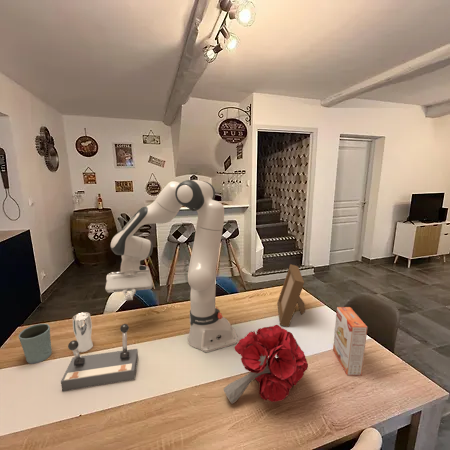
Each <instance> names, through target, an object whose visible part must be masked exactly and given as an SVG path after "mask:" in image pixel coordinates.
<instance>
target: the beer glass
mask: <svg viewBox="0 0 450 450" xmlns="http://www.w3.org/2000/svg"><path fill="white" fill-rule="evenodd" d="M92 327H93V323H92V317H91V313H90V312H86V311H83V312H79V313H76V314H75V315H73V317H72V329H73V333H74V336H75V339H76V341H77V342H78V343H79V345H78V351H79V353H85V352H88V351H90V350H91V349H92V348H93V347H94V344H93V340H92V329H93V328H92Z"/></svg>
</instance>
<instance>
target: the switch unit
mask: <svg viewBox="0 0 450 450" xmlns="http://www.w3.org/2000/svg"><path fill="white" fill-rule="evenodd" d="M138 350H139V349H138V348H133V349H132V348H131V349H127V351H129V353H130V355H129V358H126V359H120V353H121V352H123V350H116V351H109V352H103V353H94V354H87V355H82V356H81V355H80V357H81V358H85V363H84V365H77V366H74V360H75V356H73V357H72V358H71V361H70V363H69V364H68V366H67V368H66V370H65V373H64V374H63V376H62V378H61V380H60V384H61V385H60V386H61V392H67V391H72V390H79V389H86V388H92V387H96V386H97V387H99V386H104V385H109V384H110V385H111V384H117V383H122V382H130V381H135V378H136V373H137V367H138V361H139V354H138V353H139V351H138Z"/></svg>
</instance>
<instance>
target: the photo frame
mask: <svg viewBox="0 0 450 450" xmlns="http://www.w3.org/2000/svg"><path fill="white" fill-rule="evenodd" d="M288 267H289V268H288V270H287V272H286V276H285V277H284V278H285V279H284V282H283V285H282V288H281V291H280V293H279V297H278V299H277V313H278V320H279V321H278V322H279V326H283V327H286V328H289V327H290V325H291V322H292V318H293V315H294V313H295V310H296V307H297V306H298V310H299V313H300V315H303V314H304V313H305V312H306V305H305V301H303V299H302V297H301V296H300V295H301V293H302V291H303V288H304V285H305V281H304V277H303V276H302V273H301V271H300V268H299V266H298V265H295V264H291V263H290V264H289V266H288Z"/></svg>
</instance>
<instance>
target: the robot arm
mask: <svg viewBox="0 0 450 450" xmlns="http://www.w3.org/2000/svg"><path fill="white" fill-rule="evenodd" d="M215 197H216V190H215V187H214V186H213V185H212V183H210V182H207V181H204V180H203V181H202V180H200V179H185V180H184V181H182V182H180V181H179V182H178V181H175V180H172V181H169V182H168V183H167V184H166V185H165V186H164V187H163V188H162V190H160V192H159V193H158V195H157V196H156V197H155V199H154V200H153V202H151V203H150V204H148V205H147V206H141V208H140V209H139V210H137V212H135V213H134V215H133V216H132V217H131V218H130V220H128V221H127V223H126V224H125V225H124V226H123V227H122V228H121V229H120V230H119V231H118V232H117V233H116V234H115V235H114V236H113V237H112V239H111V242H110V244H109V245H110V247H109V248H110V250H111V251H112V252H113V253H114V254H115V255H117V256H121V263H120V270H119V271H111V272H110V273H107V275H106V278H105V279H106V282H105V287H104V288H105V292H107V293H120V292H121V293H123V294H124V296H125V301H133V299H134V296H135V294H136V292H137V291H144V290H151V289H153V286H154V285H153V277H152V274H151V270H150V267H149V266H147V265H143V264H141V262H142V261H144V260H146V259H147V258H149V257H151V256H152V253H153V249H154V246H153V244H152V241H151V240H150V239H148V238H144V237H140V236H136V235H134V234H135V233H136V232H137V231H138V230H139V229H140V228H141V227H143V226H144V225H150V224H151V225H152V224H153V225H154V224H158V225H159V224H160V225H161V224H162V225H163V224H167V223H170V222H171V221H172V220H173V219H175V217H176V216H177V215H178V213H179V211H180V210H181V208H182V207H185V208H187V209H189V210H190V211H192V212H196V213H197V219H196V220H197V221H196V227H195V231H194V232H195V234H194V239H193V245H192V249H191V254H190V259H189V260H190V261H189V264H188V270H187V283H188V284H189V287H190V292H189V293H190V294H189V296H190V298H189V299H190V309H189V325H190V326H189V333H188V337H187V342H188V344H189V345H190V346H191V347H192V348H195V349H198V350H200V351H202V352H203V353H209V352H210V353H211V352H213V351H217V350H220V349H223V348H226V347H230V346H234V345H236V344H237V343H238V335H237V332H236V330H235V329H234V327H232V324H231V323H230V321H229V320H228V318H227V317H224V316H223V315H222V313H221V311H220V309H219V308H218V307H217V306H216V286H217V285H216V284H217V283H216V282H217V281H216V280H217V278H216V277H217V276H216V275H217V264H218V260H219V259H218V258H219V254H220V253H219V252H220V248H221V247H220V246H221V243H222V242H221V241H222V236H223V229H224V224H225V207H224V205H223V204H222V203H221V202H220V201H218V200H215ZM128 292H131V294H130V295H128Z"/></svg>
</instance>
